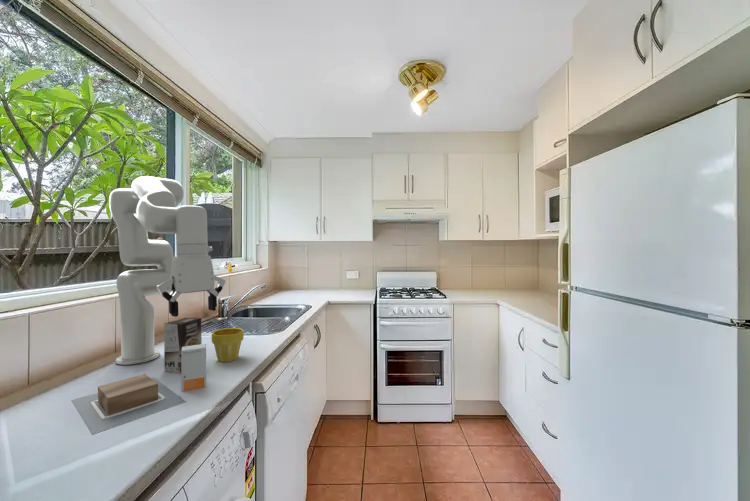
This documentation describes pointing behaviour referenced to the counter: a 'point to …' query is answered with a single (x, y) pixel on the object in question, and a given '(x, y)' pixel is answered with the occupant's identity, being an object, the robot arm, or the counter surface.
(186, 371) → the skincare box
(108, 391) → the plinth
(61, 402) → the counter surface
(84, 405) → the grey rectangular mat
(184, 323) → the coffee box
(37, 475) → the counter surface
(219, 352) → the plant pot
